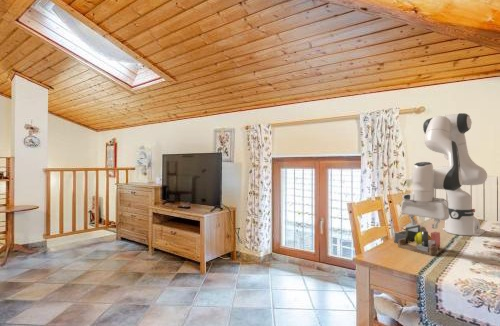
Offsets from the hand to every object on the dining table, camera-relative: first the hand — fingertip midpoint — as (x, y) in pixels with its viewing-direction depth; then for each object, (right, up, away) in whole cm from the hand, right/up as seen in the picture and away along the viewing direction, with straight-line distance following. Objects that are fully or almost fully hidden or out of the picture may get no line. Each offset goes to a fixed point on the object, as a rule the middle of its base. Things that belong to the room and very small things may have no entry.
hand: (424, 226), depth 130 cm
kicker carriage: (+4, -11, +2) cm, 12 cm away
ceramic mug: (+12, -12, +26) cm, 31 cm away
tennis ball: (+5, -12, +10) cm, 17 cm away
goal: (+2, -12, +17) cm, 21 cm away
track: (-1, -12, +4) cm, 13 cm away
